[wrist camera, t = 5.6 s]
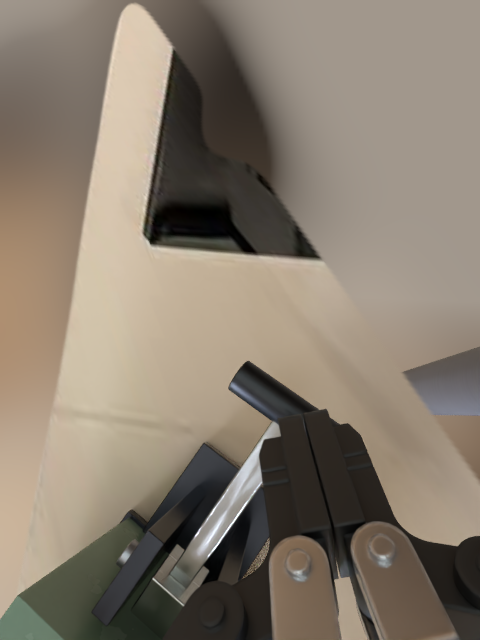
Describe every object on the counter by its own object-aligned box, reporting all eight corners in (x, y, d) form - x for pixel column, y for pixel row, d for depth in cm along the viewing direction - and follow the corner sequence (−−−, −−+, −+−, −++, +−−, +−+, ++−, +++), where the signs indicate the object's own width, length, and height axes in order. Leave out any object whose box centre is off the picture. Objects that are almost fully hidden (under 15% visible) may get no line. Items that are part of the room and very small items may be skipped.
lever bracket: (206, 441, 34) (158, 460, 20) (288, 504, 32) (295, 569, 19) (131, 549, 33) (28, 644, 19) (212, 619, 31) (163, 777, 18)
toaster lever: (255, 353, 18) (235, 369, 16) (366, 429, 17) (361, 458, 15) (132, 554, 23) (104, 588, 21) (211, 624, 22) (191, 667, 20)
